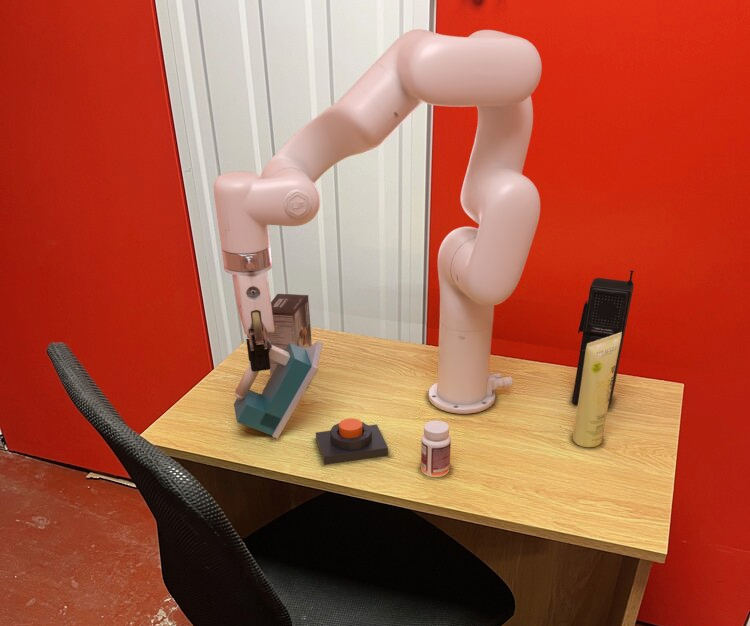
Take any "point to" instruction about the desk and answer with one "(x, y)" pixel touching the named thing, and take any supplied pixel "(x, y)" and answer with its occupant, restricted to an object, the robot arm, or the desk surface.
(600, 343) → the tube
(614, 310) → the portable radio
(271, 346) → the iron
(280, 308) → the coffee box
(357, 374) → the desk surface
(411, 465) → the desk surface
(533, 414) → the desk surface
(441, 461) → the pill bottle
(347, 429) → the power button
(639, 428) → the desk surface
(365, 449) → the switch box
